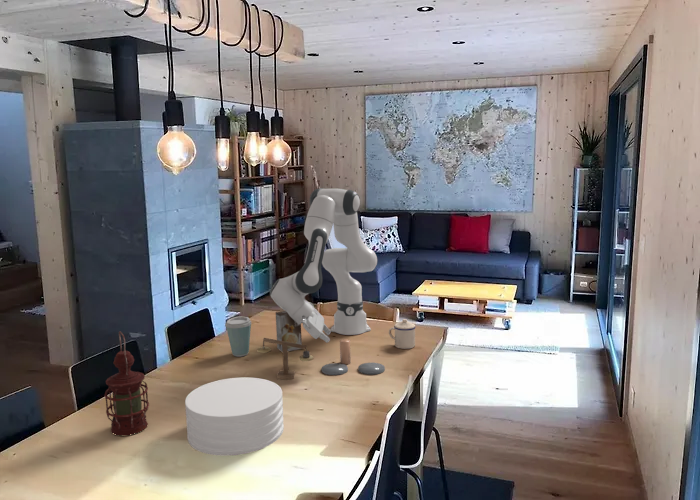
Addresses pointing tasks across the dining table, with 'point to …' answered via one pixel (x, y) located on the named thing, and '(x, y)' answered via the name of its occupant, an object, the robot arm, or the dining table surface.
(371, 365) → the dish
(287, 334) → the coffee box
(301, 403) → the dining table surface
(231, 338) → the disposable coffee cup
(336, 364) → the dish
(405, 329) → the teacup with lid
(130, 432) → the lantern
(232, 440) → the plate stack
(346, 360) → the peach shift knob
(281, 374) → the balance
